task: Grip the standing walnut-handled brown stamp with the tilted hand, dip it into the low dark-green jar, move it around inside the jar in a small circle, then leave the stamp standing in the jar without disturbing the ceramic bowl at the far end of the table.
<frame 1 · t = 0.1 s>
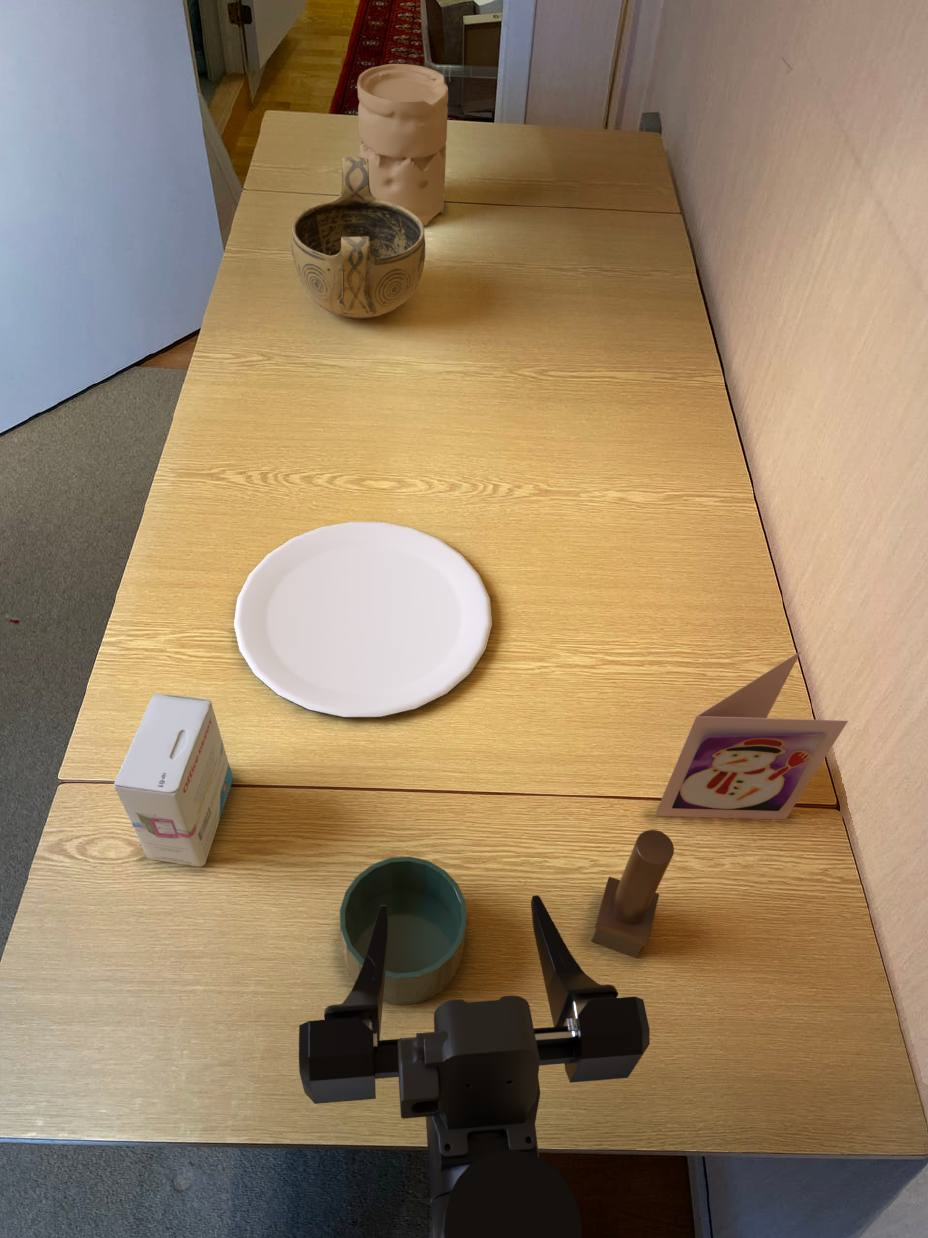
hand: (459, 902, 59), 18 cm above the table, tool horizontal, fingers open, 9 cm apart
jar: (403, 944, 75), on the table
plate: (364, 619, 96), on the table
greeting card: (714, 789, 86), on the table
brown stamp: (618, 929, 77), on the table
ceramic bowl: (360, 305, 132), on the table
ink box: (191, 818, 82), on the table
container: (402, 208, 149), on the table
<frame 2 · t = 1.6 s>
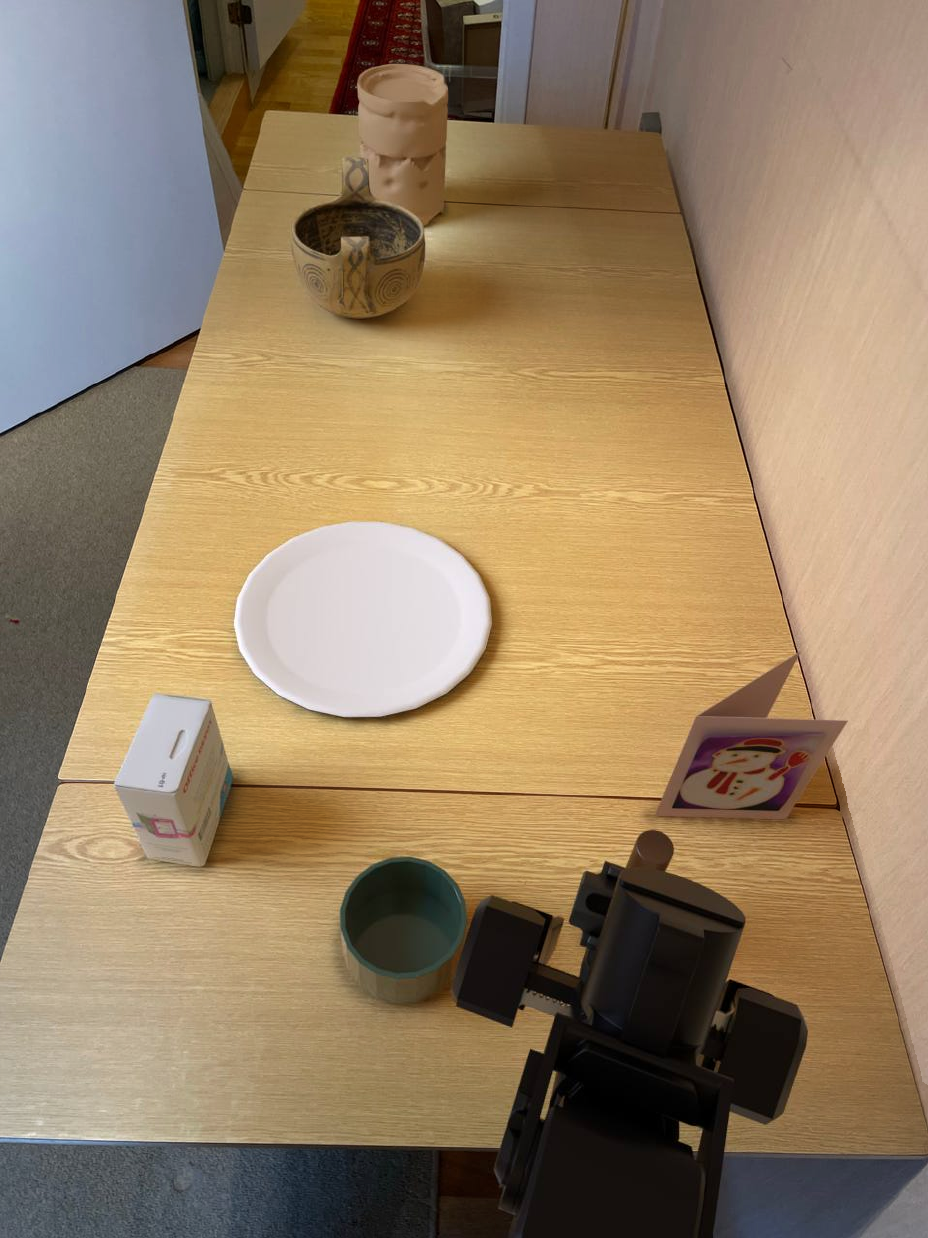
hand: (628, 949, 62), 13 cm above the table, tool tilted 45°, fingers open, 9 cm apart
nothing on the table moved.
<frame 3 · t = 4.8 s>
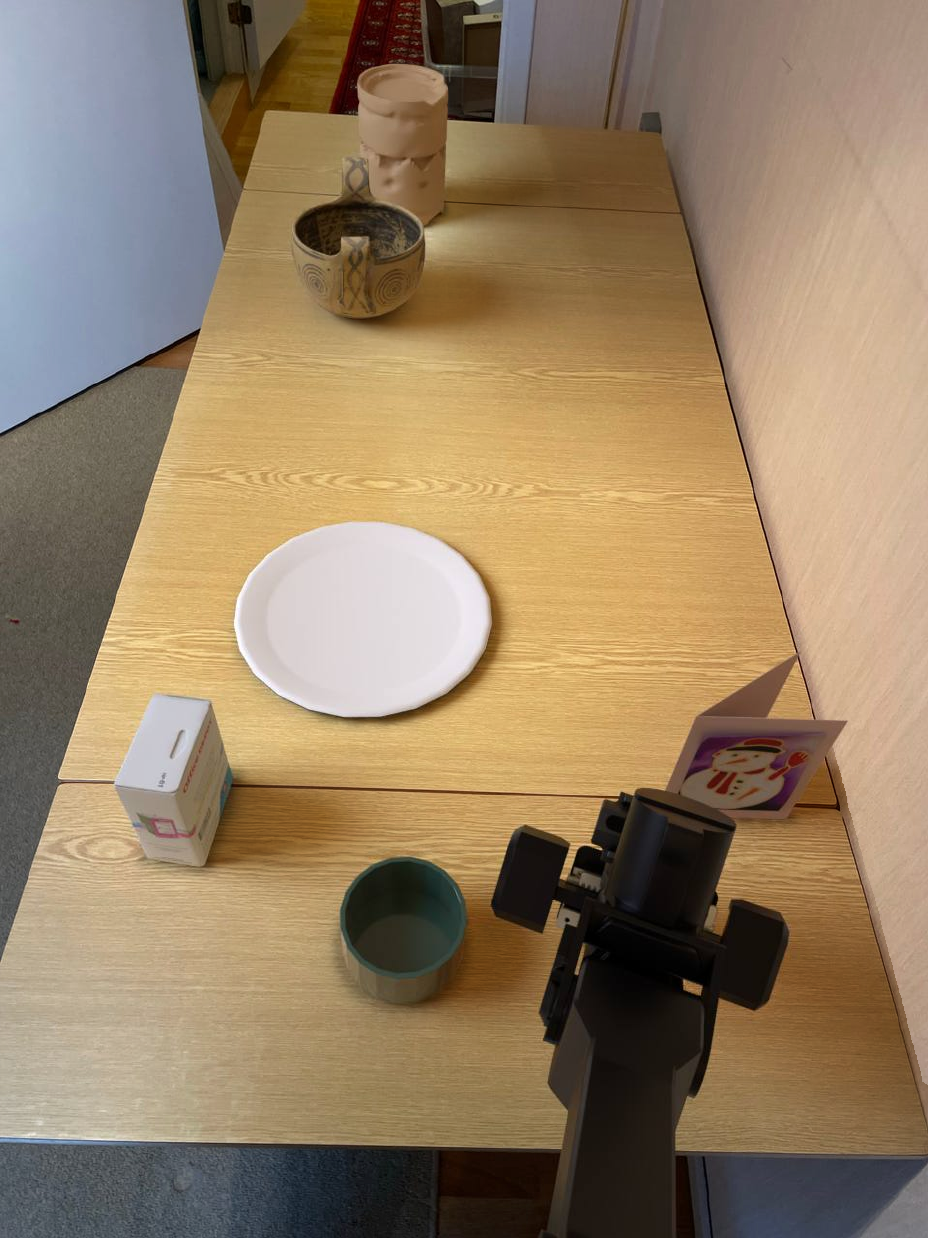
hand: (638, 877, 73), 7 cm above the table, tool tilted 45°, fingers closed on brown stamp, 2 cm apart
brown stamp: (618, 929, 77), on the table, touching gripper
everything else where it was.
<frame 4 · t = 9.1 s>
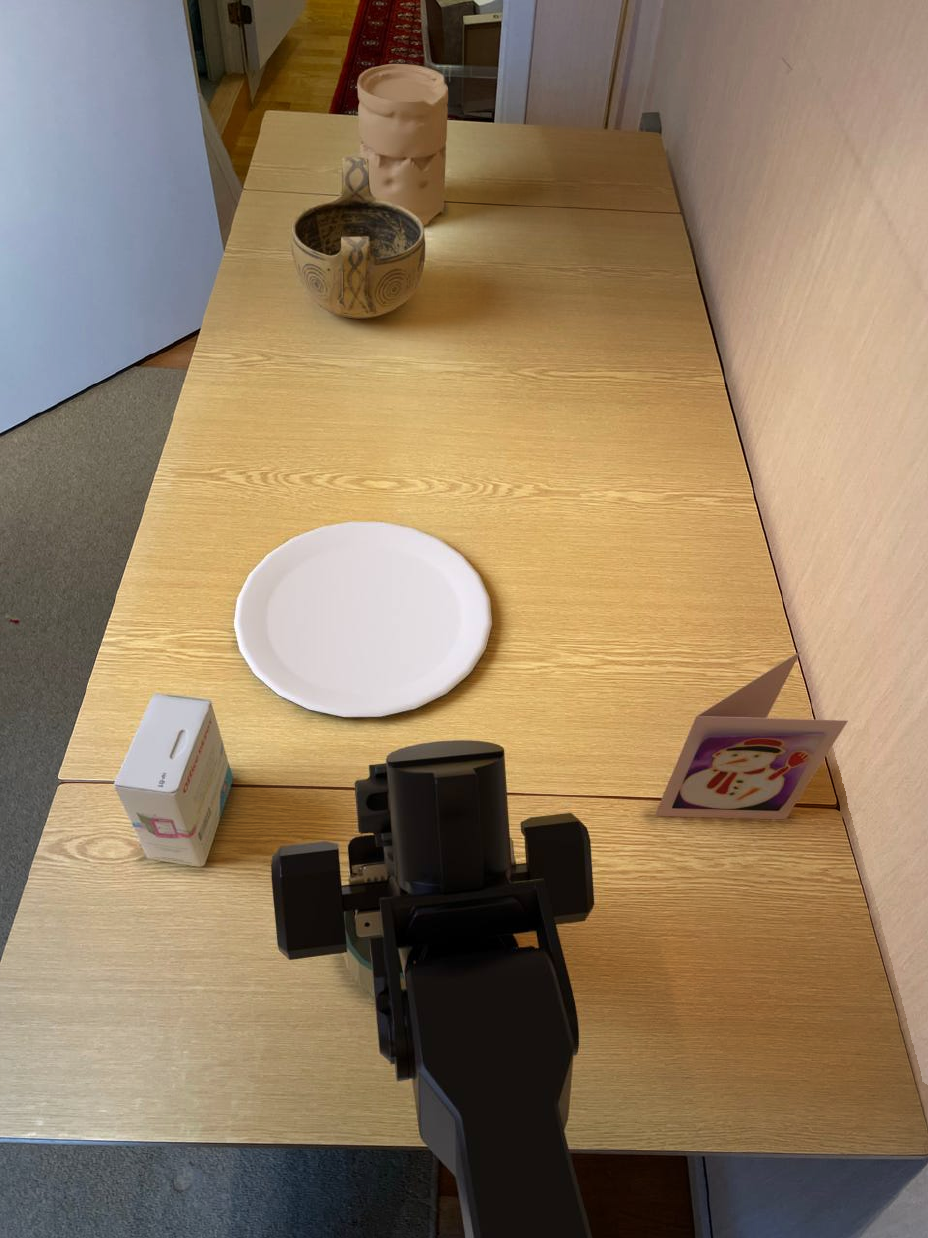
hand: (420, 841, 66), 13 cm above the table, tool tilted 45°, fingers closed on brown stamp, 2 cm apart
brown stamp: (420, 902, 71), point 7 cm above the table, touching gripper
everything else where it was.
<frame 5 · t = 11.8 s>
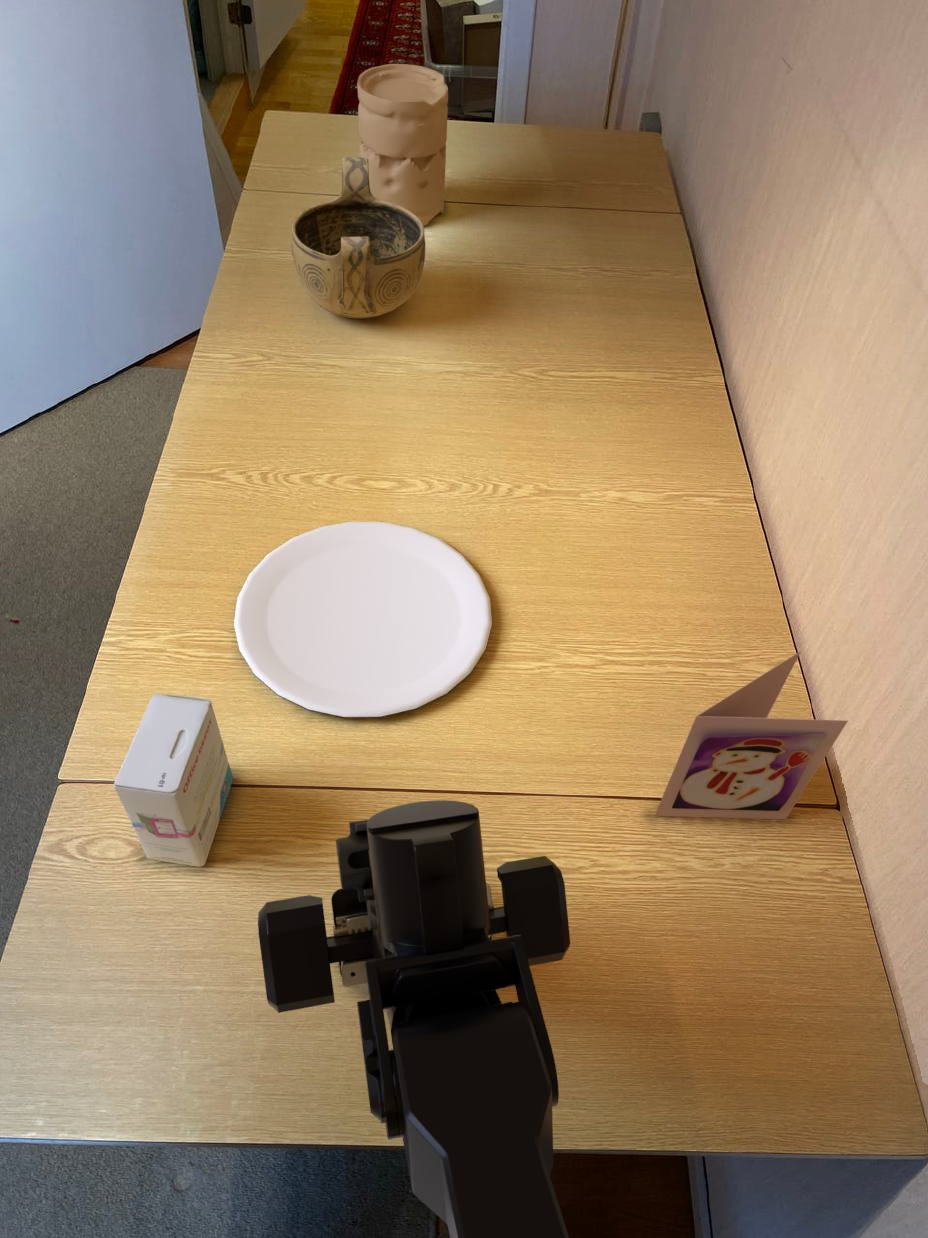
hand: (400, 886, 69), 9 cm above the table, tool tilted 45°, fingers closed on brown stamp, 2 cm apart
brown stamp: (403, 941, 73), point 3 cm above the table, touching gripper
everything else where it was.
when the fingers open (7 cm above the table, at t = 13.5 s): brown stamp stays where it is, resting on jar.
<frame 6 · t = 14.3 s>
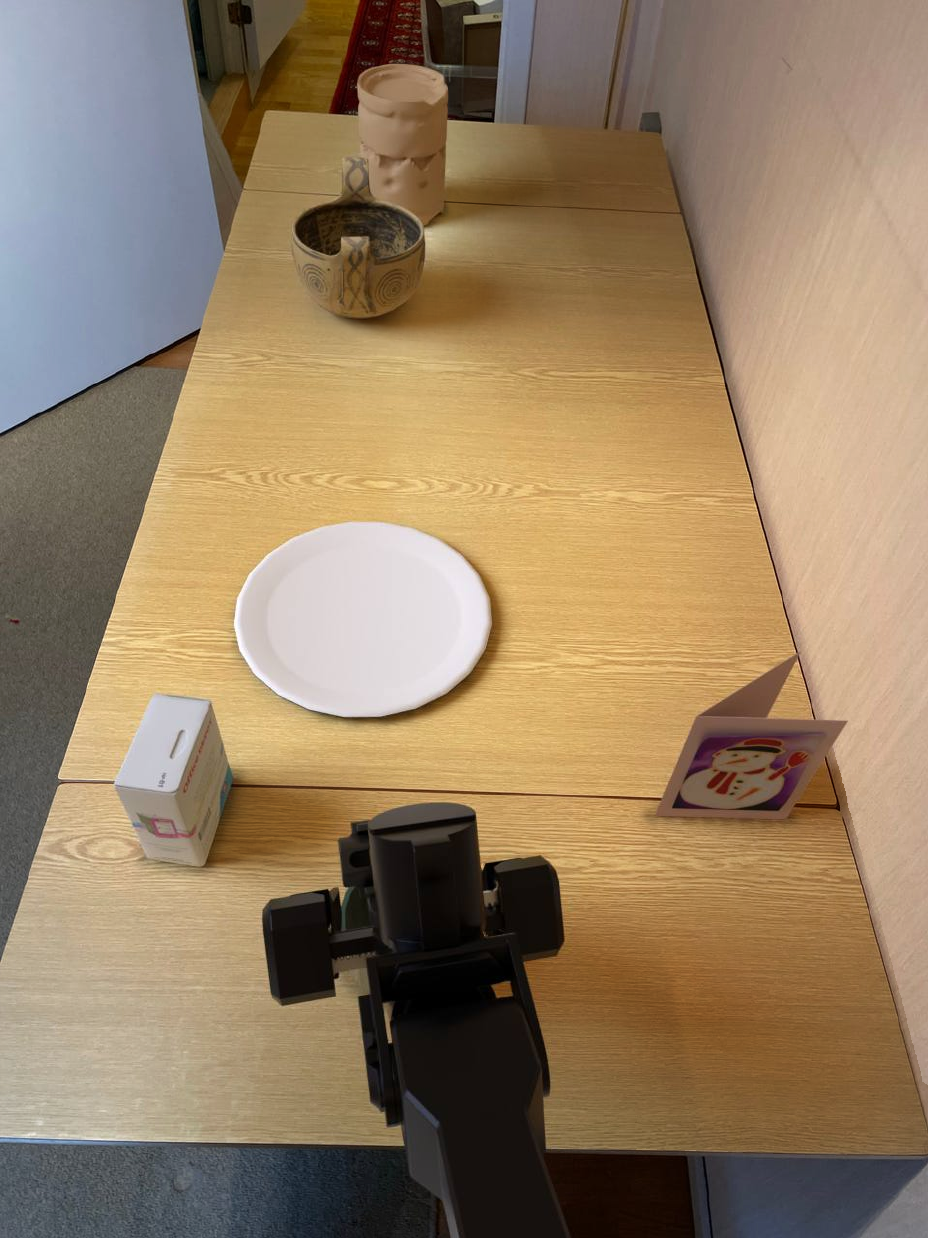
hand: (400, 883, 70), 8 cm above the table, tool tilted 45°, fingers open, 9 cm apart
brown stamp: (403, 942, 75), point 1 cm above the table, touching jar
everything else where it was.
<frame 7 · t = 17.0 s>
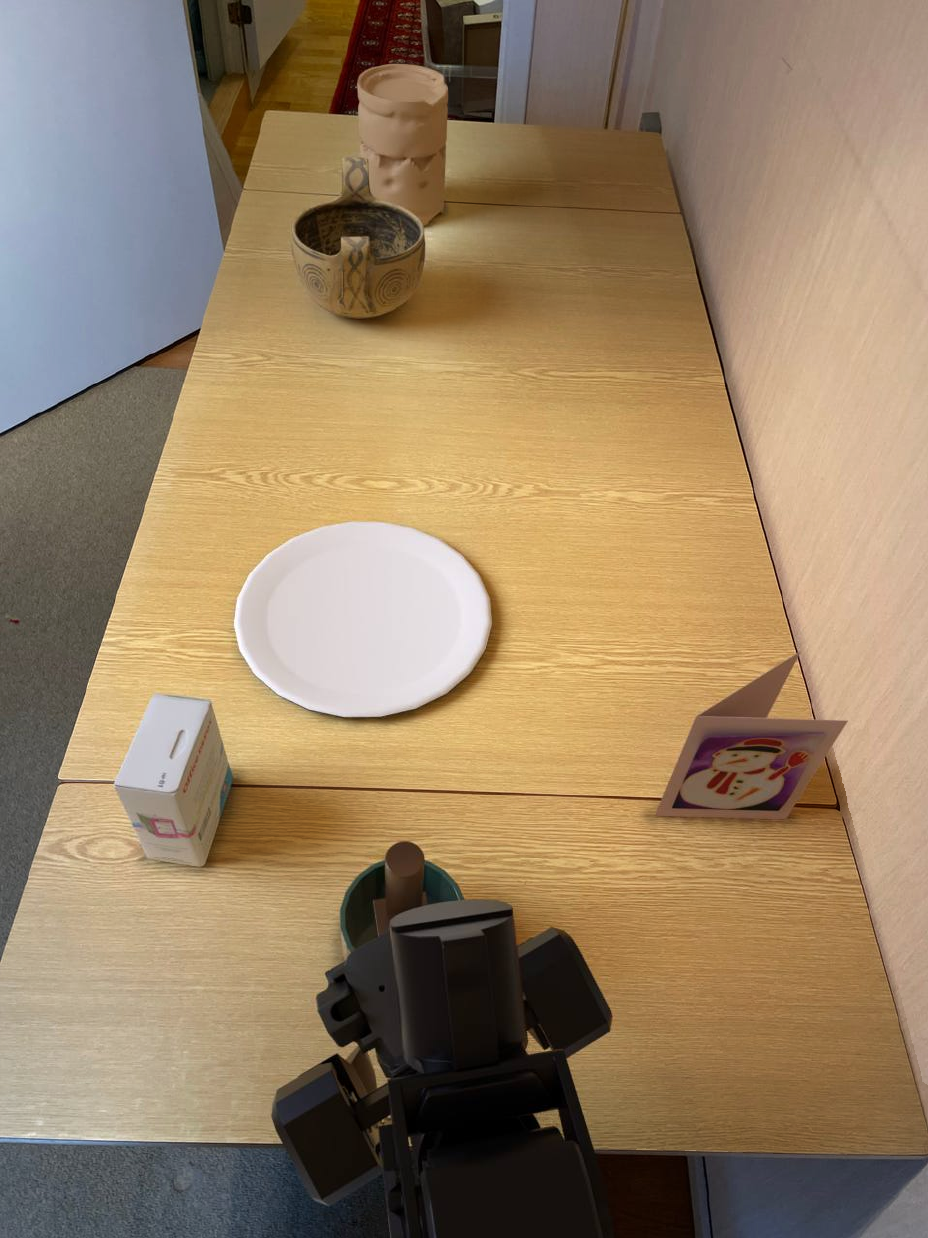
hand: (427, 1013, 62), 10 cm above the table, tool tilted 35°, fingers open, 9 cm apart
nothing on the table moved.
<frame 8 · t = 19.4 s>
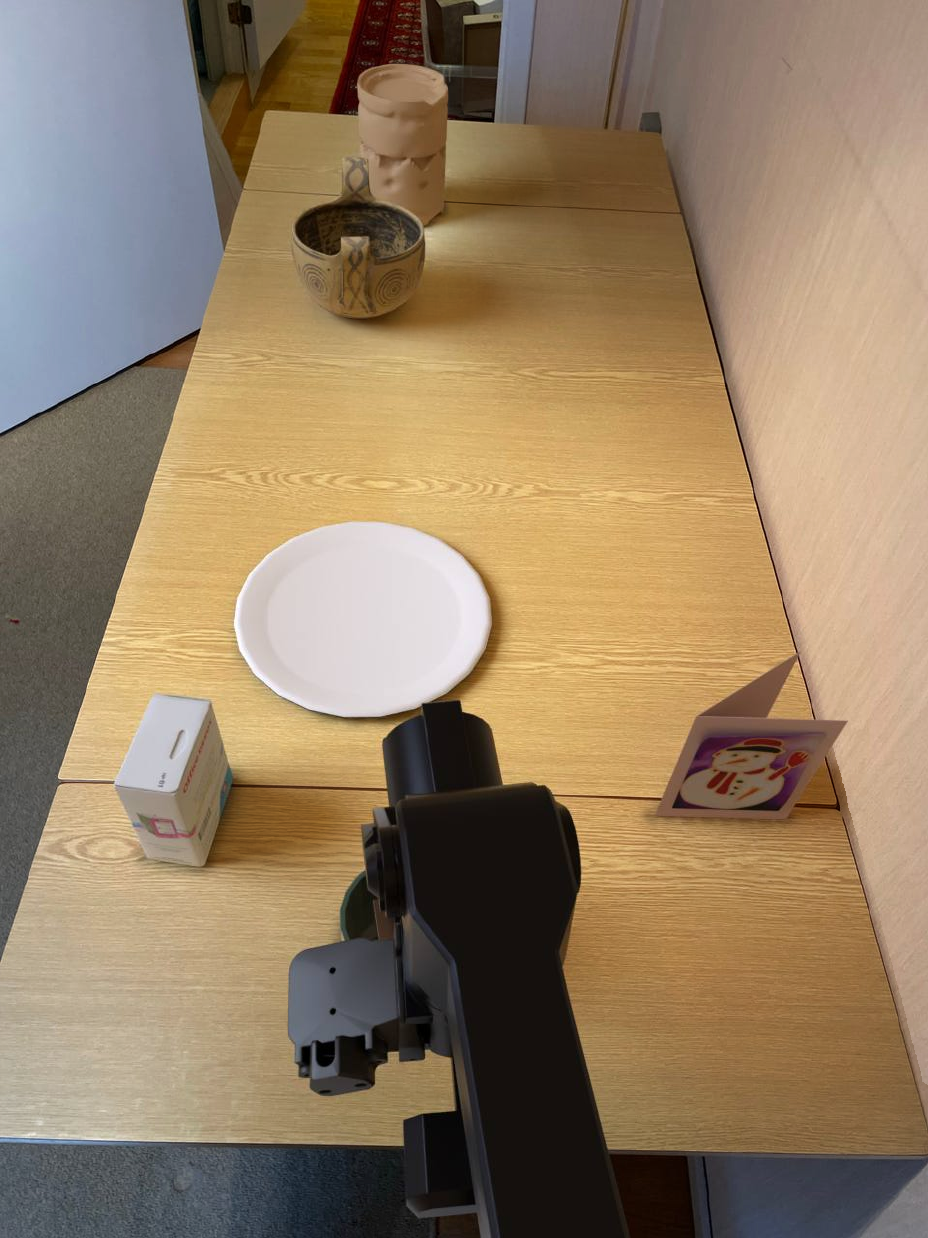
hand: (448, 1054, 58), 13 cm above the table, tool pointing down, fingers open, 9 cm apart
nothing on the table moved.
at the end: brown stamp 0.1 cm off-centre in the jar, point 0.6 cm above the jar's base; the gripper is holding nothing; ceramic bowl moved 0.2 cm from its start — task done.
